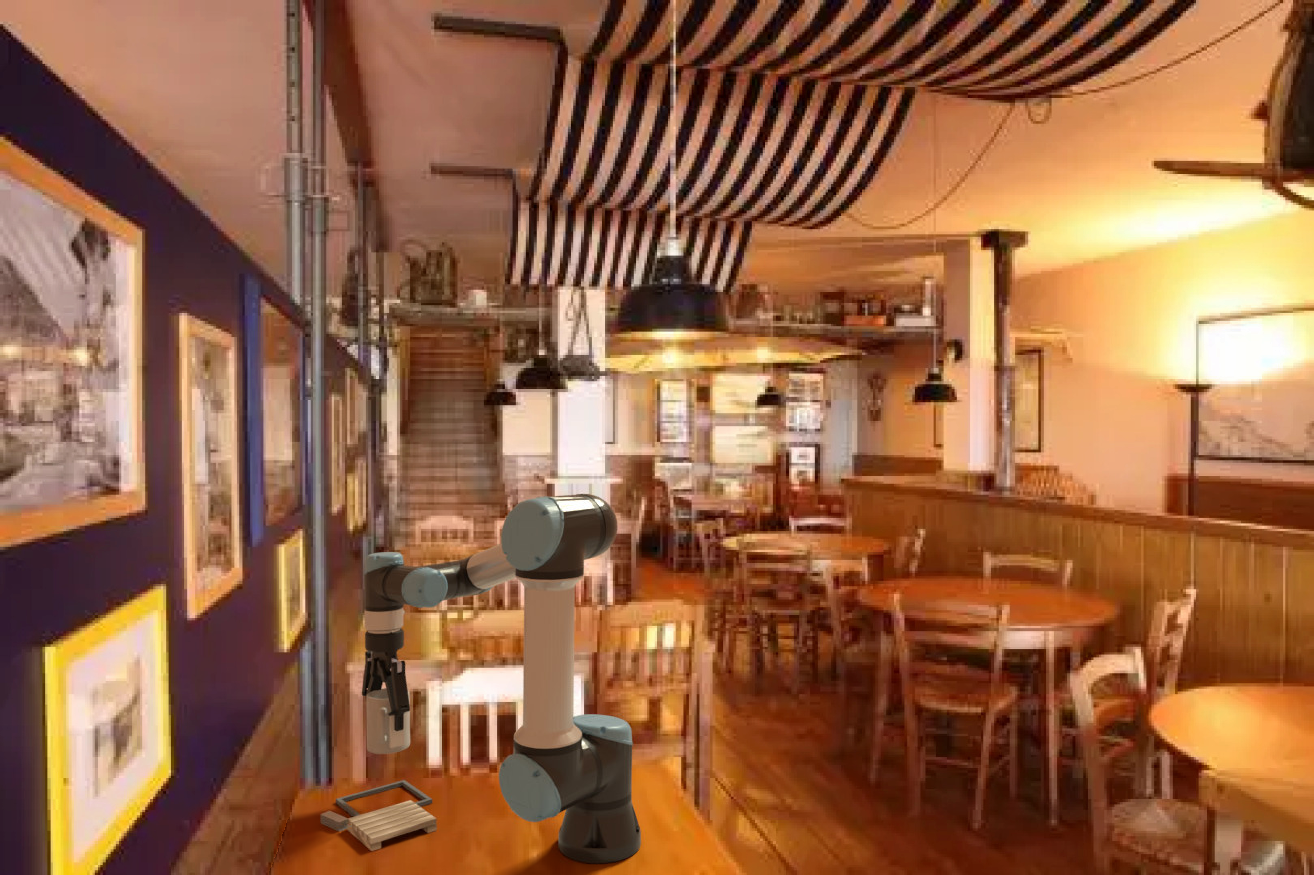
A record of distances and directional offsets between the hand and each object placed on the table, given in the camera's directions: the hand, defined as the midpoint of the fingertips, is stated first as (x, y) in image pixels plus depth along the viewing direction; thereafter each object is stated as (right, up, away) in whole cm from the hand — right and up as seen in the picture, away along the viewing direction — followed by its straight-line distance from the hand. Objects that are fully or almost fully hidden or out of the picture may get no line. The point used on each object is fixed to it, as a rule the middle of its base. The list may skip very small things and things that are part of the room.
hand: (385, 739), depth 179 cm
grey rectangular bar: (-7, -13, -10) cm, 18 cm away
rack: (+5, -13, -12) cm, 18 cm away
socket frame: (0, -13, 0) cm, 13 cm away
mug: (0, -2, -1) cm, 2 cm away
